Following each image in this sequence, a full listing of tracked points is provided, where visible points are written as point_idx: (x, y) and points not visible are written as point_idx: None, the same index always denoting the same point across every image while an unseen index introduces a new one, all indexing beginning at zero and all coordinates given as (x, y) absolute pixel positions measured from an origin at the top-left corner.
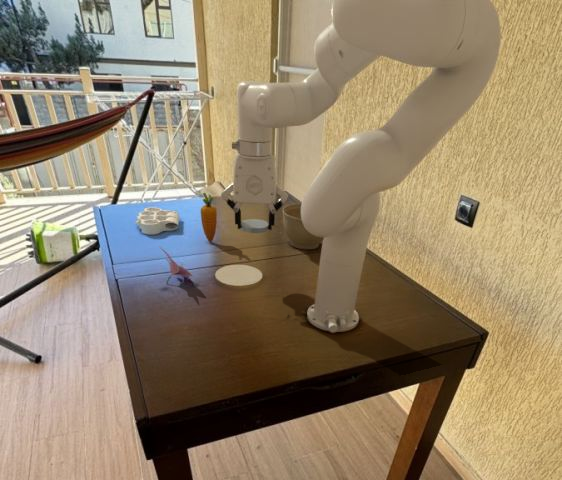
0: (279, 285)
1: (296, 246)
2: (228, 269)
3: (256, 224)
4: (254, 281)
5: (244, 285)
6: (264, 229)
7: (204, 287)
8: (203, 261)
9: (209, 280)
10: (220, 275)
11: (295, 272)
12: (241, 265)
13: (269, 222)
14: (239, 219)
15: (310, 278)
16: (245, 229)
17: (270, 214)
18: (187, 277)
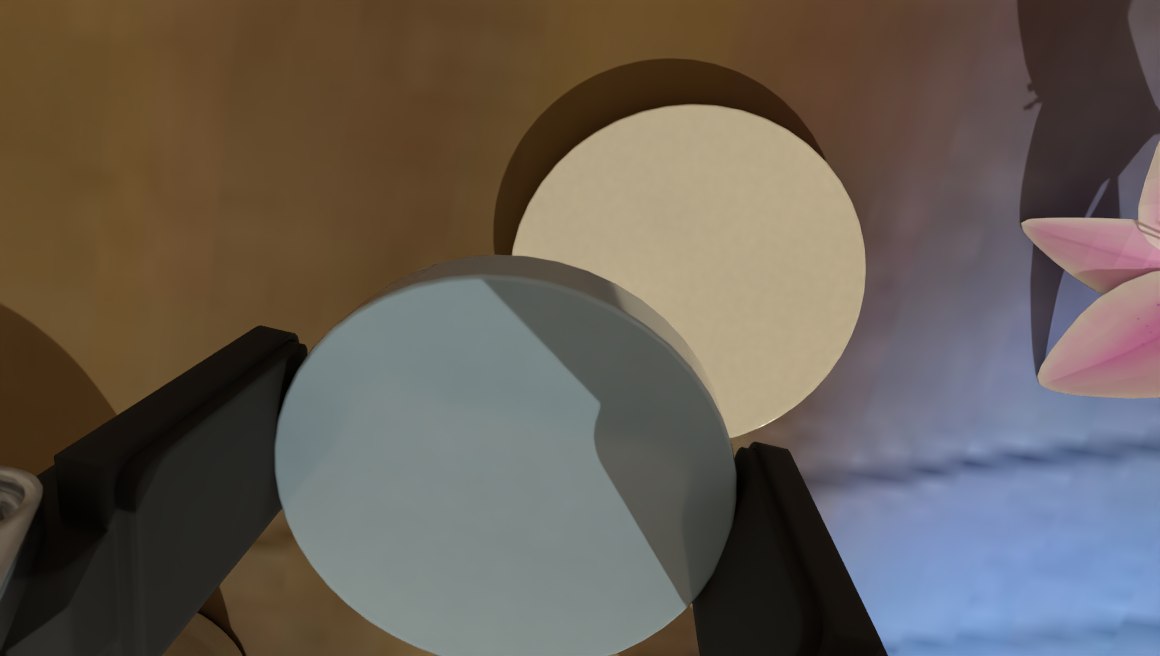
0: (409, 131)
1: (215, 634)
2: (739, 381)
3: (479, 456)
4: (592, 160)
5: (684, 104)
6: (372, 298)
7: (965, 187)
8: (853, 557)
9: (895, 289)
10: (823, 298)
11: (267, 312)
12: None
13: (231, 385)
14: (796, 531)
15: (169, 206)
16: (690, 355)
17: (96, 461)
18: (1133, 235)
